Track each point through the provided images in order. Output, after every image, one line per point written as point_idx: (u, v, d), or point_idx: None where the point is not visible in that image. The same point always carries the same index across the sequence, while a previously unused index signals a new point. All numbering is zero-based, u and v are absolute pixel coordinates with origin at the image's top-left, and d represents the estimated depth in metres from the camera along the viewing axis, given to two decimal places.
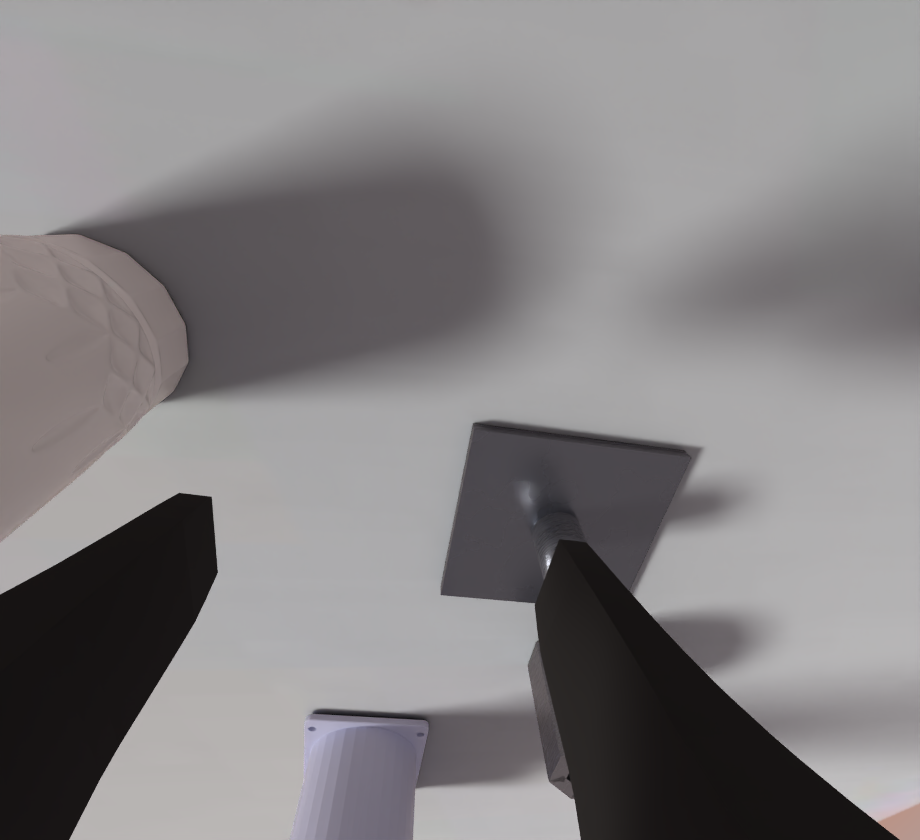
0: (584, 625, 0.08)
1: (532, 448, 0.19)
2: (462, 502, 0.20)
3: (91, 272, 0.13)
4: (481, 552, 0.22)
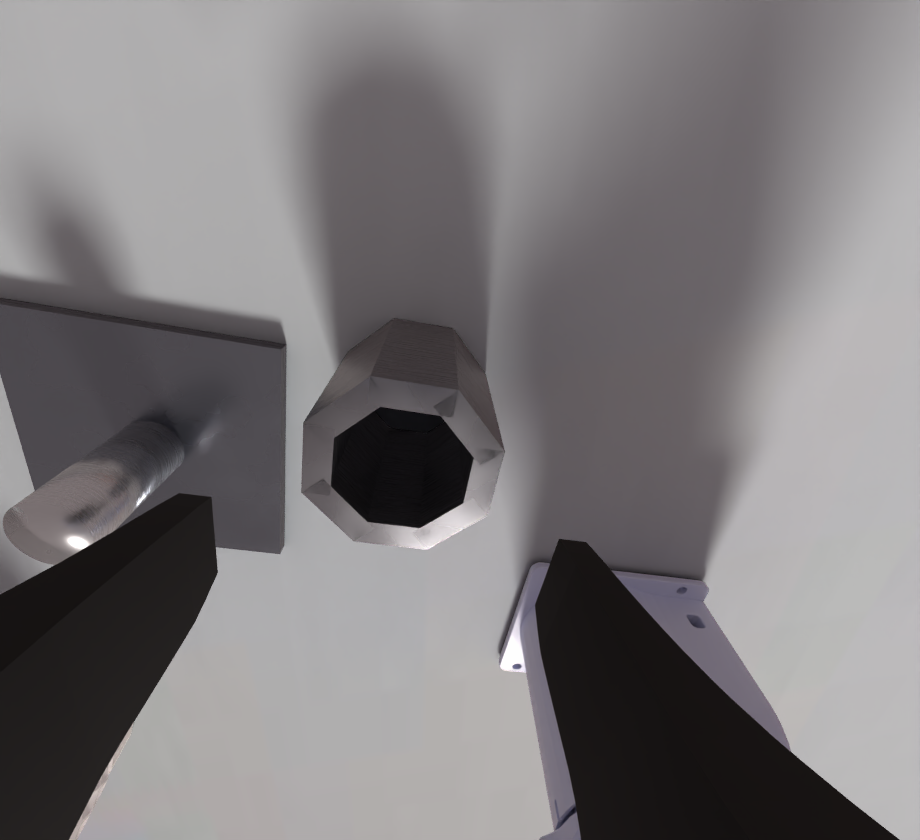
0: (584, 625, 0.08)
1: (45, 478, 0.18)
2: None
3: None
4: None
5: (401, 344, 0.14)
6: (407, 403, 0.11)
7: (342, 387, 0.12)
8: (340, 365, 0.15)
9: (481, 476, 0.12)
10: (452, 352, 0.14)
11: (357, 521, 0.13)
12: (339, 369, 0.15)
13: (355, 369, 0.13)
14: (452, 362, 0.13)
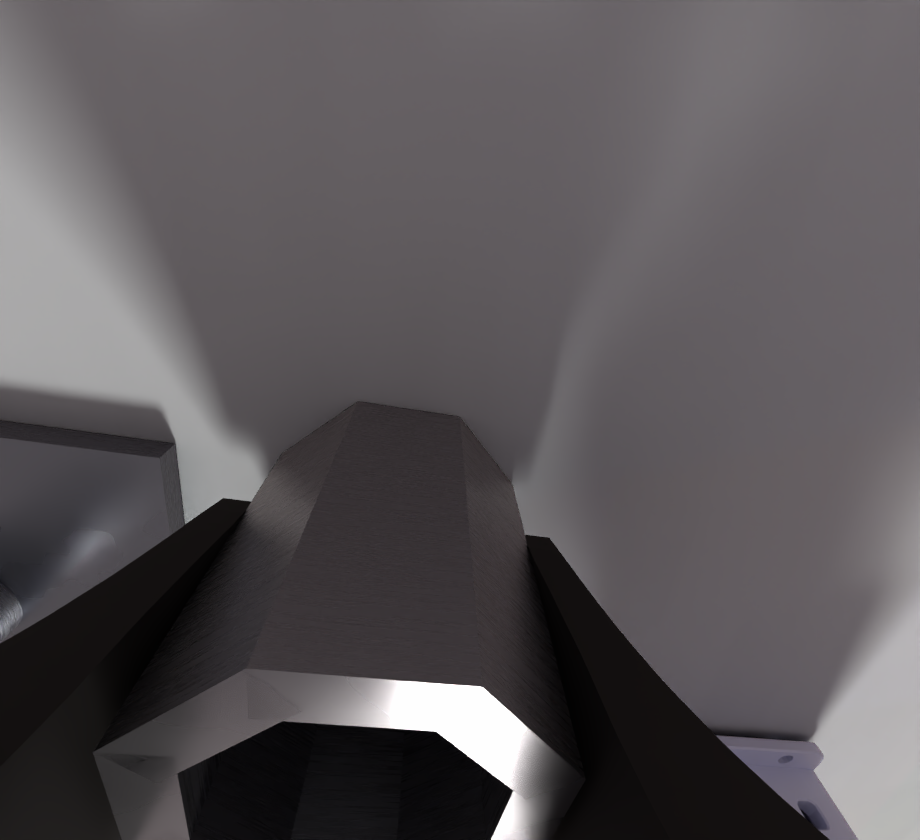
0: None
1: None
2: None
3: None
4: None
5: (358, 488, 0.07)
6: (351, 713, 0.04)
7: (206, 635, 0.05)
8: (255, 497, 0.08)
9: (528, 815, 0.06)
10: (460, 498, 0.07)
11: None
12: (247, 515, 0.08)
13: (254, 559, 0.06)
14: (462, 539, 0.06)
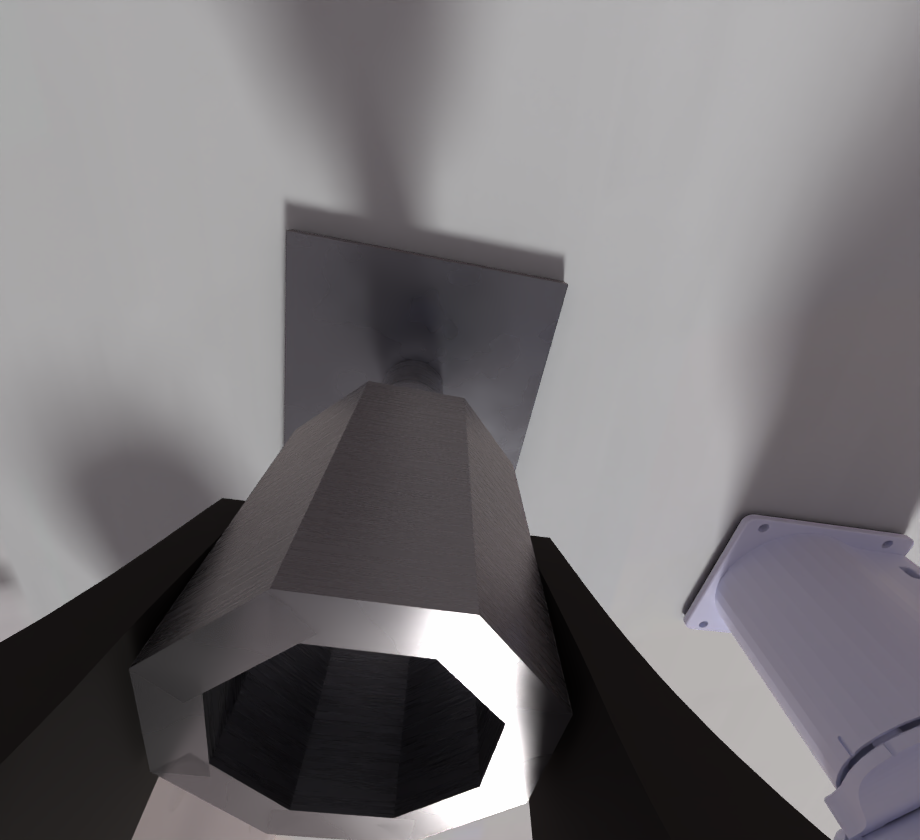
0: None
1: (298, 421, 0.18)
2: None
3: None
4: None
5: (368, 453, 0.07)
6: (360, 637, 0.05)
7: (230, 572, 0.06)
8: (271, 466, 0.09)
9: (519, 750, 0.06)
10: (463, 465, 0.07)
11: (271, 808, 0.07)
12: (264, 480, 0.08)
13: (272, 512, 0.07)
14: (463, 499, 0.07)
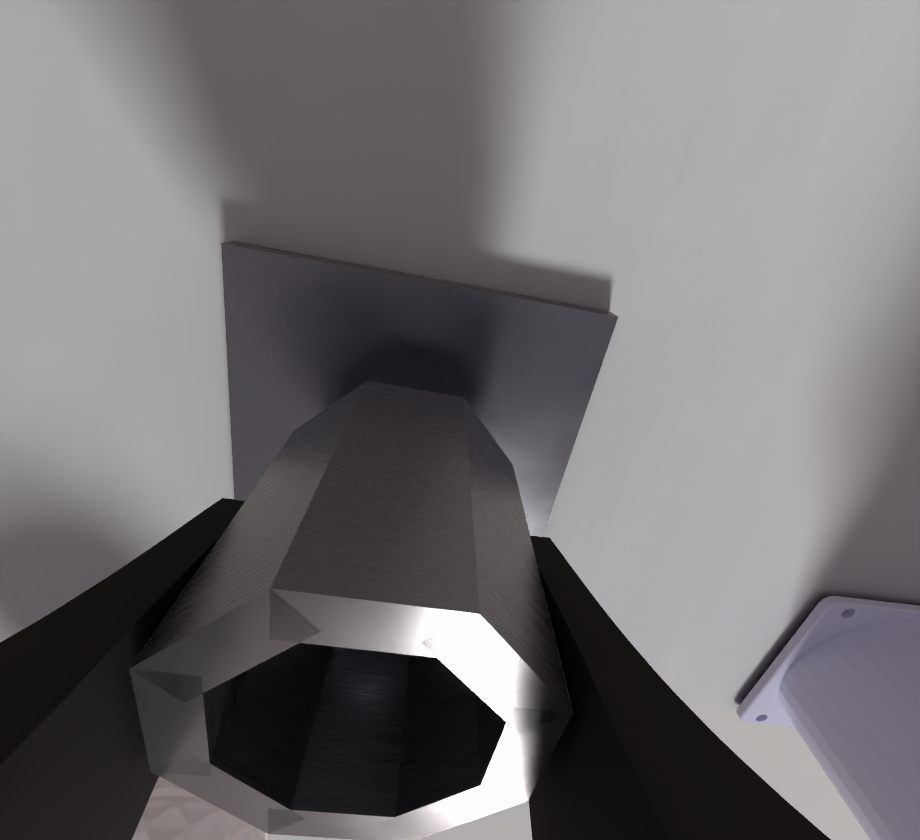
0: None
1: None
2: None
3: None
4: None
5: (368, 453, 0.07)
6: (361, 637, 0.05)
7: (230, 572, 0.06)
8: (270, 466, 0.09)
9: (520, 749, 0.06)
10: (463, 464, 0.07)
11: (272, 807, 0.07)
12: (263, 480, 0.08)
13: (272, 511, 0.07)
14: (463, 498, 0.07)
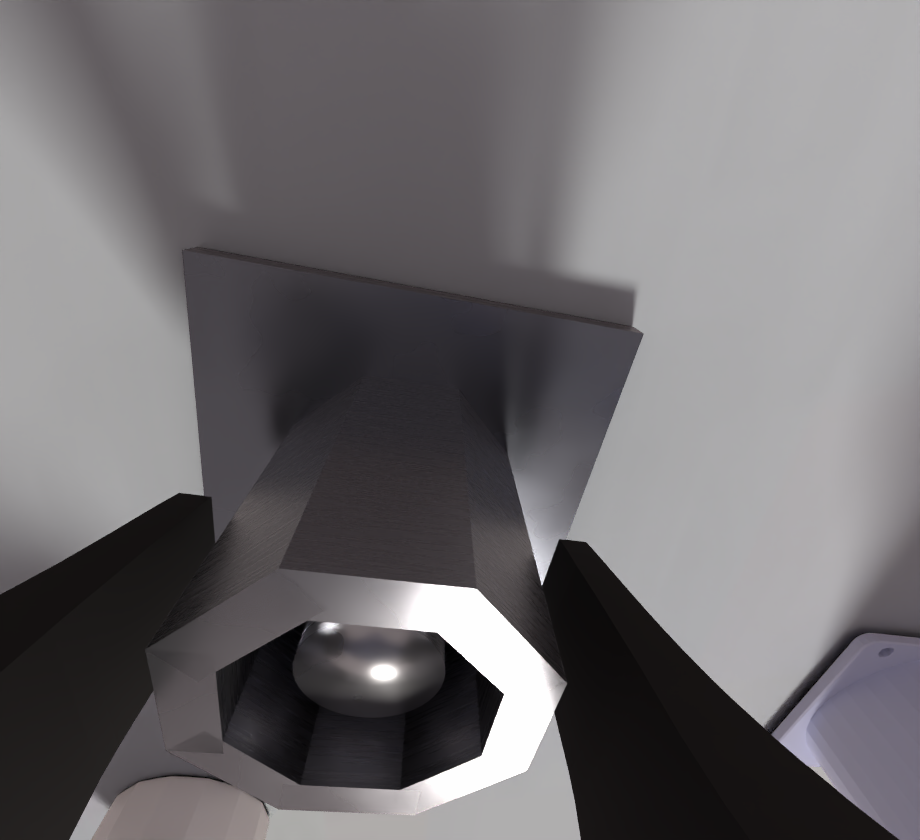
0: (584, 626, 0.08)
1: None
2: None
3: None
4: None
5: (367, 443, 0.08)
6: (365, 613, 0.05)
7: (238, 557, 0.06)
8: (272, 459, 0.09)
9: (518, 719, 0.06)
10: (459, 453, 0.08)
11: (282, 783, 0.07)
12: (265, 473, 0.09)
13: (276, 500, 0.07)
14: (459, 484, 0.07)
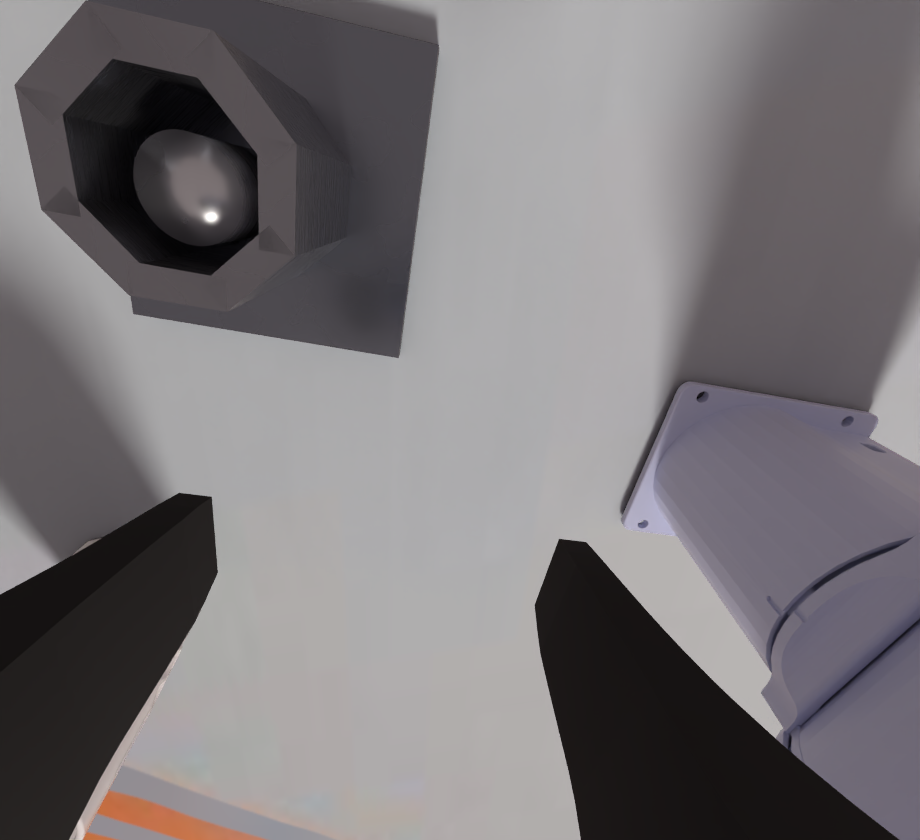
0: (584, 626, 0.08)
1: None
2: (239, 327, 0.17)
3: None
4: (319, 303, 0.16)
5: None
6: (147, 53, 0.08)
7: None
8: None
9: (273, 188, 0.09)
10: (265, 71, 0.11)
11: (127, 262, 0.10)
12: None
13: None
14: None
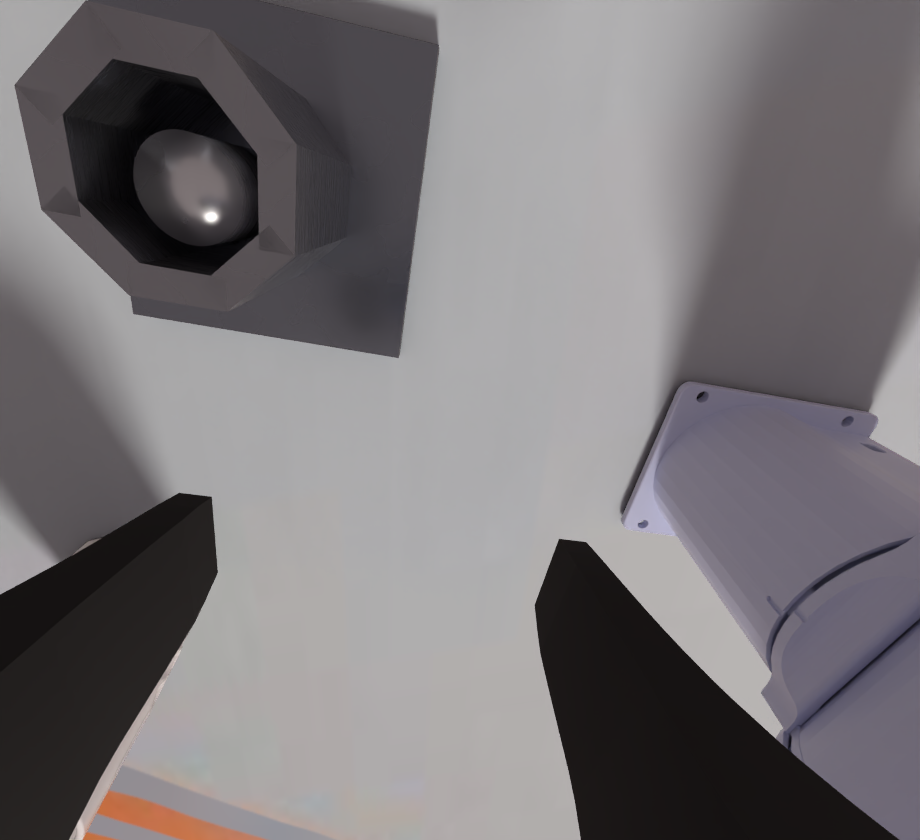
0: (584, 626, 0.08)
1: None
2: (239, 327, 0.17)
3: None
4: (319, 303, 0.16)
5: None
6: (147, 53, 0.08)
7: None
8: None
9: (273, 188, 0.09)
10: (265, 71, 0.11)
11: (127, 262, 0.10)
12: None
13: None
14: None
